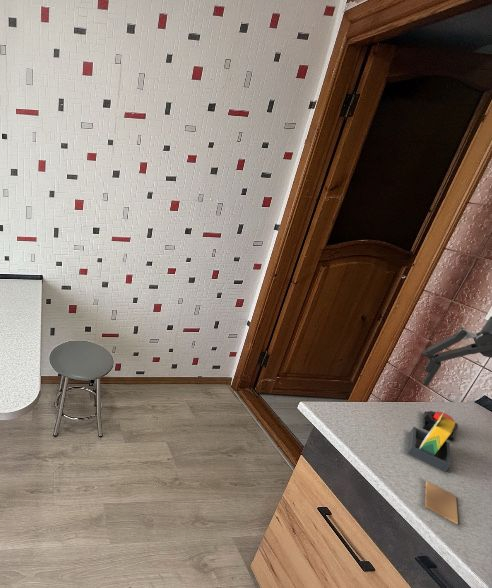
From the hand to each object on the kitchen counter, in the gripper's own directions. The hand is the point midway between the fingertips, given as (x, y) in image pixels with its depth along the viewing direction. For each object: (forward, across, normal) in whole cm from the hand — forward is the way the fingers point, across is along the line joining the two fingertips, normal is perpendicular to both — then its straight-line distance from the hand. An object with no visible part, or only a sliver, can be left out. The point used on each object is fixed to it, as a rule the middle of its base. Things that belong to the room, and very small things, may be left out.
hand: (463, 397), depth 81 cm
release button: (+16, +2, +16) cm, 22 cm away
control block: (+18, +2, +16) cm, 24 cm away
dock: (+18, 0, 0) cm, 18 cm away
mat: (+18, +3, -18) cm, 26 cm away
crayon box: (+18, 0, 0) cm, 18 cm away
